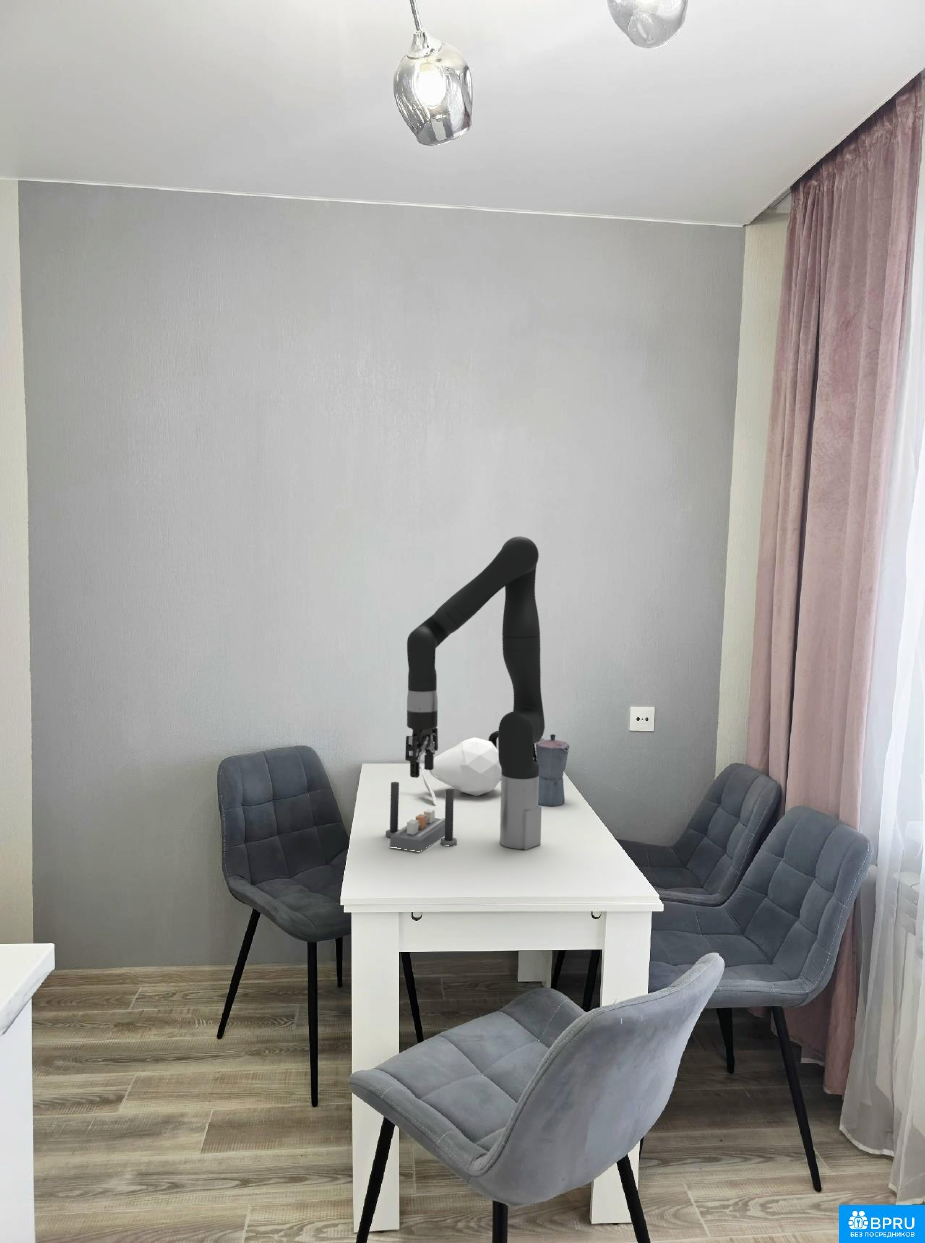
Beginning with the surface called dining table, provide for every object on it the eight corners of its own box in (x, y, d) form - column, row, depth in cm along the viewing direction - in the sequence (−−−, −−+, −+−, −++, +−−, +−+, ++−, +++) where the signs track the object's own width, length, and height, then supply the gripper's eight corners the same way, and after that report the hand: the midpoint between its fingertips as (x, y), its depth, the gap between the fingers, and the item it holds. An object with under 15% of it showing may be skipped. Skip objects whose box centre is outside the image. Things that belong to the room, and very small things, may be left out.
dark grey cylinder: (460, 843, 222) (461, 789, 221) (449, 847, 219) (450, 792, 218) (448, 840, 225) (449, 786, 223) (437, 843, 222) (438, 789, 220)
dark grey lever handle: (405, 835, 227) (406, 783, 226) (393, 839, 224) (394, 785, 223) (393, 832, 230) (395, 780, 229) (382, 835, 227) (383, 782, 226)
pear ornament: (503, 725, 270) (409, 727, 265) (515, 784, 253) (415, 787, 248) (496, 761, 280) (406, 764, 276) (508, 820, 263) (412, 824, 259)
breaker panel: (420, 852, 215) (420, 838, 214) (390, 848, 218) (390, 833, 217) (449, 831, 231) (449, 817, 231) (421, 827, 234) (421, 813, 234)
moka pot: (556, 811, 251) (557, 740, 250) (517, 799, 263) (518, 731, 261) (578, 805, 258) (580, 735, 256) (539, 793, 269) (541, 727, 268)
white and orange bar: (413, 834, 218) (413, 823, 218) (406, 833, 219) (407, 822, 218) (434, 820, 230) (434, 809, 229) (428, 819, 230) (428, 808, 230)
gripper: (424, 713, 214) (424, 781, 215) (447, 704, 227) (447, 768, 228) (395, 711, 217) (395, 778, 218) (420, 702, 230) (420, 765, 231)
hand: (422, 773), depth 223 cm, fingers open, 8 cm apart
